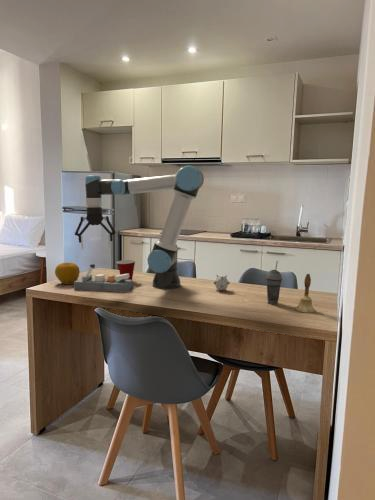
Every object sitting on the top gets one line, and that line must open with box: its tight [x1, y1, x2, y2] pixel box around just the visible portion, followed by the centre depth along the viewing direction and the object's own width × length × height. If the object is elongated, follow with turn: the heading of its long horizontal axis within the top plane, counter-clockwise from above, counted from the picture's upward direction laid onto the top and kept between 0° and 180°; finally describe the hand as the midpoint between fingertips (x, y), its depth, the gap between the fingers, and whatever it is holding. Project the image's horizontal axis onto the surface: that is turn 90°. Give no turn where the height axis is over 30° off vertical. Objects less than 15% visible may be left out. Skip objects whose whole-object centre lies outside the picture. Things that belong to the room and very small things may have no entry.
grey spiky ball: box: [213, 274, 231, 292], centre depth 187 cm, size 9×8×10 cm
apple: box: [54, 262, 80, 285], centre depth 198 cm, size 13×13×11 cm
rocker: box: [115, 273, 130, 281], centre depth 187 cm, size 6×4×2 cm, turn 83°
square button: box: [94, 273, 106, 282], centre depth 188 cm, size 4×4×4 cm
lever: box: [85, 263, 96, 280], centre depth 189 cm, size 3×5×9 cm, turn 173°
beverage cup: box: [265, 260, 283, 306], centre depth 165 cm, size 7×7×20 cm
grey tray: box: [73, 273, 133, 293], centre depth 188 cm, size 28×10×6 cm, turn 83°
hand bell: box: [295, 273, 316, 314], centre depth 156 cm, size 8×8×16 cm
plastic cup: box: [116, 259, 136, 280], centre depth 204 cm, size 11×11×12 cm
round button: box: [106, 274, 115, 282], centre depth 188 cm, size 4×4×4 cm
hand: (96, 248), depth 186 cm, fingers open, 13 cm apart
